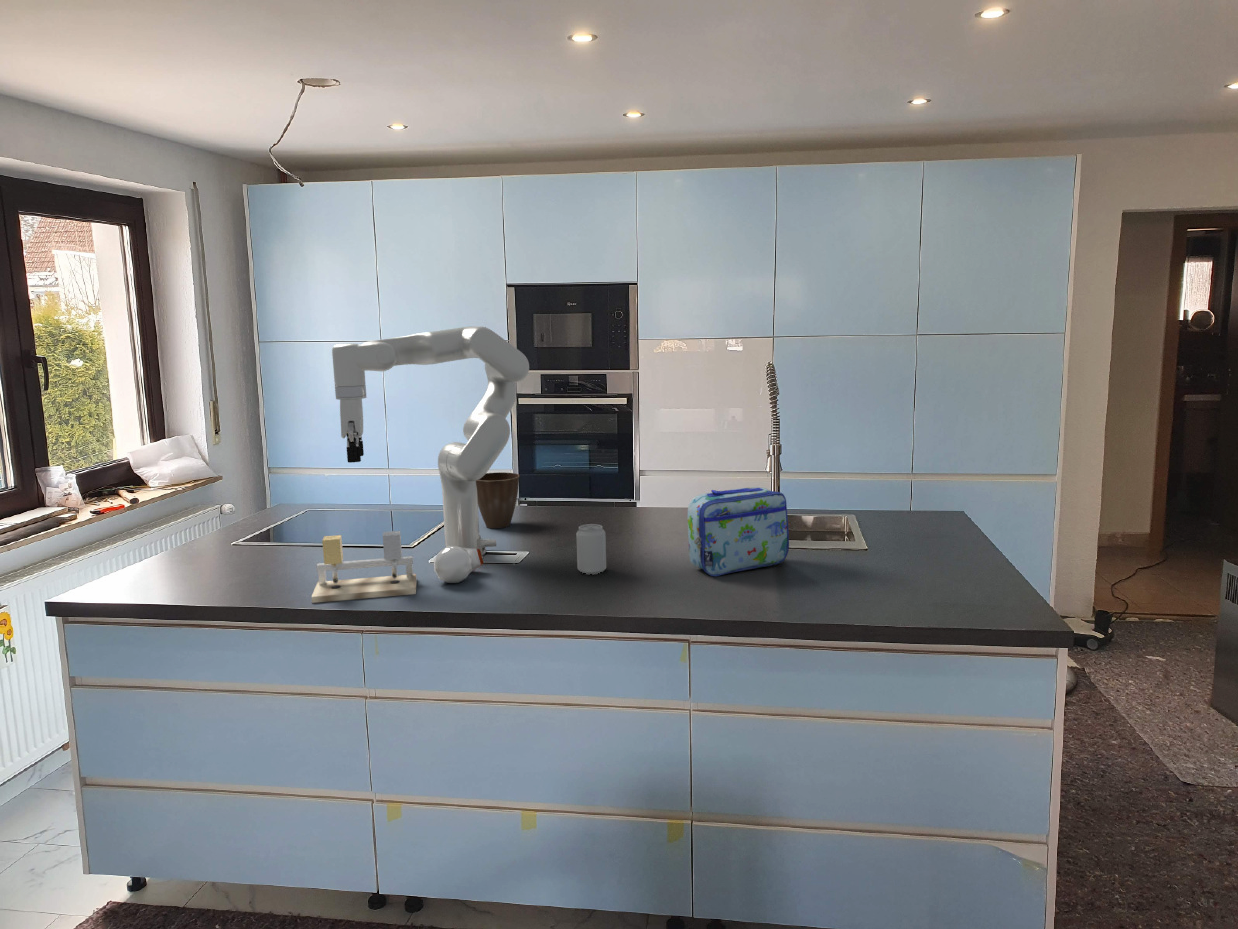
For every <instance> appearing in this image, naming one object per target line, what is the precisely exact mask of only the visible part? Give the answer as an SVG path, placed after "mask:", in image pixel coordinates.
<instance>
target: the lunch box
mask: <svg viewBox="0 0 1238 929" xmlns="http://www.w3.org/2000/svg"><path fill="white" fill-rule="evenodd" d="M787 503H788V502H787V498H786V496H785V494H784V493H782V492H780V491H775V490H771V489H768V488H765V487H757V486H755V487H742V488H741V487H740V488H732V489H726V490H716V489H715V490H714V489H711V492H708V493H702V494H699V495H696V496H695V497H694V498H692V499H691V500H690V501H689V504H688V507H687V535H688V536H687V537H688V554H689V560H690V563H691V564H692V565H693V566H694V567H697V568H700V569H702V570H703V572H704V573H706V574H708V575H709V576H711V577H720V576H723V575H726V574H730V573H737V572H743V571H748V570H754V569H759V568H763V567H770V566H773V565H774V566H775V565H779V564H781V563H784V561H785V560H786V558H787V556H788V554H789V550H790V532H789V518H788V507H787Z"/></svg>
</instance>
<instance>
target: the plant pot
mask: <svg viewBox="0 0 1238 929" xmlns="http://www.w3.org/2000/svg"><path fill="white" fill-rule="evenodd" d="M519 485H520V474H519V473H514V472H506V471H504V472H503V471H501V472H499V471H498V472H488V473H486V474H485V475H484V476H483V477H482V478H480V479H479V480H477V481H476V486H477V497H478V499H477V500H478V511H479V512H480V516H481V517H482V520H483V522H484V524H485V526H486V528H489V529H504V528H508V527H509V526H510V525H511V523H512V520H513V516H514V512H515V508H516V504H517V500H518V493H519Z"/></svg>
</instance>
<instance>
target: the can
mask: <svg viewBox="0 0 1238 929" xmlns="http://www.w3.org/2000/svg"><path fill="white" fill-rule="evenodd" d="M575 535H576V537H575V538H576V562H577V563H576V564H577V567H576V568H577V570H578V571H579V572H580V573H581V572H582V573H581V574H583V573H586V574H585V575H590V574H592V575H599V574H601V573H600V572H602V573H603V572H604V571H605V570H606V569H607V548H606V547H607V546H606V545H607V544H606V543H607V542H606V541H607V540H606V531H605V530H604V529H603V525H601V524H596V523H589V524H581V525H580V526H578V530H577V532H576V533H575ZM598 573H599V574H598Z"/></svg>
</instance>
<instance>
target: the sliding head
mask: <svg viewBox="0 0 1238 929" xmlns="http://www.w3.org/2000/svg"><path fill="white" fill-rule="evenodd" d="M321 542H322V552H323V554H322V555H323V563H324V565H326V564H332V571H331V576H332V581H333V582H334V583H335V584H336V583H337V582H338V580H339V574H338V570H337V564H339V563H342V562H344V551H343V538H342V535H341V534H339V535H338V534H336V535H324V536H323V537H322V541H321Z"/></svg>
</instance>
